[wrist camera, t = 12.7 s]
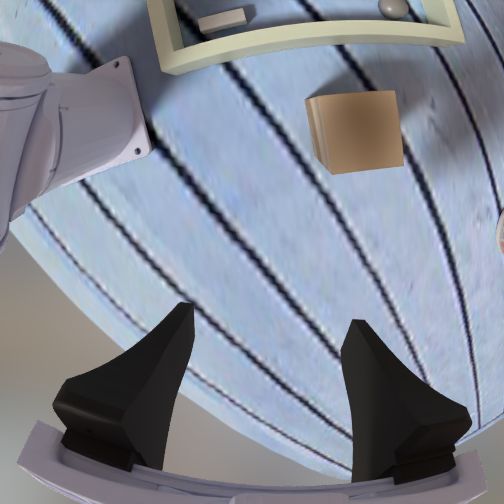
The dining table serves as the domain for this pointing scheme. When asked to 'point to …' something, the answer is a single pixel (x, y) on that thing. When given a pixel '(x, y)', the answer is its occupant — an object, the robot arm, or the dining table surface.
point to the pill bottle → (500, 233)
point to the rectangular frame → (296, 33)
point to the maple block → (356, 131)
